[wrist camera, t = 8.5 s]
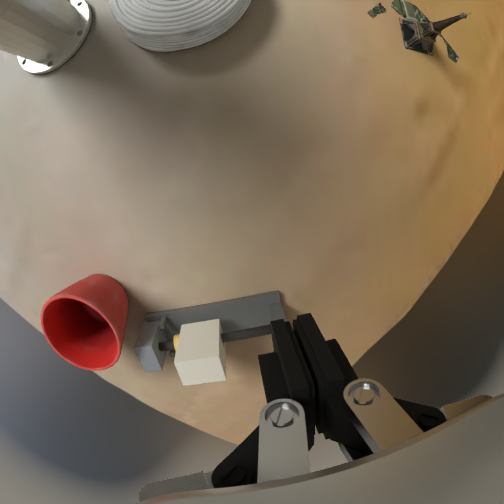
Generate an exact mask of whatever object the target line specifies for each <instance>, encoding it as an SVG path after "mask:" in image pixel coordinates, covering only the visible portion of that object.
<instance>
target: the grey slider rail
mask: <svg viewBox="0 0 504 504" xmlns="http://www.w3.org/2000/svg"><path fill="white" fill-rule="evenodd" d="M214 319H219V320H220V323H221V327H222V331H223V333H221V339H222V343H223V342H229V341H235V340H241V339H246V338H252V337H257V336H262V335H267V334H272V332H271V325H270V321H273V320H278V319H284V321H285V322H286V321H287V318H286V316H285V313H284V310H283V307H282V305H281V301H280V294H279V291H273V292H268V293H263V294H258V295H253V296H248V297H242V298H237V299H231V300H226V301H220V302H215V303H209V304H203V305H197V306H191V307H186V308H179V309H173V310H167V311H161V312H154V313H148V314H147V315H146V319H145V322H144V324H143V326H142V329H141V331H140V334H139V336H138V339H137V341H136V343H135V346H134V350H135V352H136V354H137V356H138V358H139V361H140V363H141V365H142V367H143V369H144V371H145V372H153V371H162V368H163V364H164V360H165V356H166V352H167V351H168V350H170V356H171V357H172V356H175V353H176V349H177V345H178V340H179V335H180V330H181V326H182V325H183V324H189V323H196V322H202V321H208V320H214Z"/></svg>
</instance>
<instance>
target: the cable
mask: <svg viewBox="0 0 504 504" xmlns="http://www.w3.org/2000/svg"><path fill="white" fill-rule="evenodd" d="M250 2H251V0H177V1H168V0H109V4H110V8H111V11H112V14H113V16H114V17H115V19H116V20H117V22H118V24H119V25H120V27H121V29H122V30H123V32H124V33H125V34H126V36H127V37H128V38H129V39H130V40H131V41H132V42H134V43H135V44H137V45H138V46H140V47H142V48H145V49H148V50H152V51H160V52H168V51H176V50H181V49H186V48H191V47H195V46H198V45H201V44H204V43H206V42H208V41H211V40H213V39H214V38H216V37H218V36H220V35H221V34H223V33H224V32H226V31H227V30H228V29H230V28H231V27H232V26H233V25H234V24H235V23H236V22H237V21H238V20H239V19H240V18H241V16H242V15H243V14H244V12H245V11H246V10H247V8H248V6H249V5H250Z"/></svg>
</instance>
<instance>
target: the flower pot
mask: <svg viewBox="0 0 504 504" xmlns="http://www.w3.org/2000/svg"><path fill="white" fill-rule="evenodd" d="M128 305H129V303H128V297H127V295H126V292H125V290H124V289H123V288H122V286H121V285H120V284H119V283H118V282H117V281H116V280H114V279H113V278H111V277H109V276H107V275H103V274H94V275H91V276H89V277H87V278H84V279H82V280H80V281H78V282H76V283H74V284H73V285H71V286H69V287H67V288H66V289H64V290H62V291H61V292H59V293H57V294H56V295H54V296H53V297H51V298H50V299H49V300H47V302H46V303H45V304H44V306H43V308H42V311H41V326H42V329H43V333H44V335H45V337H46V339H47V341H48V342H49V343H50V345H51V347H52V348H53V349H54V350H55V351H56V352H57V353H58V354H59V355H60V356H61V357H62V358H63V359H65V360H66V361H68V362H70V363H71V364H73V365H75V366H77V367H79V368H83V369H86V370H93V371H98V370H104V369H107V368H109V367H111V366H113V365H114V364H115V363H116V362H117V361H118V359H119V357H120V354H121V349H122V343H123V337H124V332H125V326H126V320H127V313H128Z"/></svg>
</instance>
